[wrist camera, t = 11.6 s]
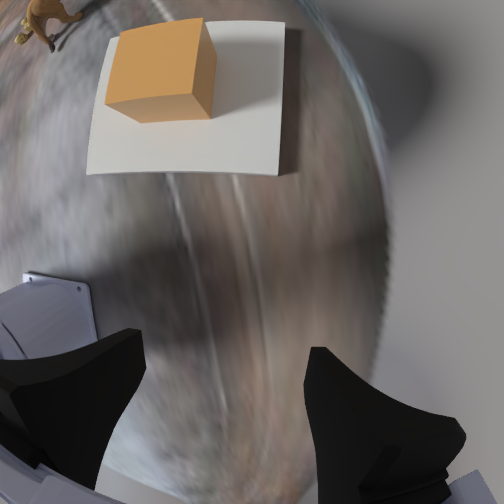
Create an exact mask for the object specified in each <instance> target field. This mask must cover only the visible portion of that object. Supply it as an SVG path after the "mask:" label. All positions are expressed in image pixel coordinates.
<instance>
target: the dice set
mask: <svg viewBox="0 0 504 504" xmlns="http://www.w3.org/2000/svg"><path fill="white" fill-rule="evenodd" d="M47 19H48V18H47ZM21 24H22V25H23V26H25V27H24V30H26V31H29V32H31V31H32V29H31V27H30V26H29V24H28V21H27V16H26V17H25V18H24V19H23V21H22V23H21ZM27 38H28V35H26V34H24V33H22V32H21V33H20V34H18V36H17V37H16V39H15V43H17V44H20V45H23V44H24V43H25V42H26V41H27Z"/></svg>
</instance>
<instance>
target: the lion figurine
mask: <svg viewBox="0 0 504 504" xmlns="http://www.w3.org/2000/svg"><path fill="white" fill-rule="evenodd" d="M59 1H60V0H31V2H30V3H29V5H28V8H27V11H26V15H27V21H28V24H29V26H30V27H31V29H32V30H33V31H34V32H35V33H36V34H37V35H38V38H39V39H40V40H41V41H43V42H44V43H45V44H48V45H49V48H50V50H51V53H53V52H54V50H55V45H54V43H53V42H52V41H53V40H54V38H55V35H54V34H51V35H50V36H49V37H47V35H46V21H47V18H57V19H59V20H60V22H61V23H69V22H76V21H78V20H79V19H80V18H81V17H82V16H83V13H82V12H78V13H76V14H75V15H74V16H69V15H68V14H67V13H66V11H65V9H64V6H63V4H62V3H60V2H59Z"/></svg>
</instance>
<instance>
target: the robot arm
mask: <svg viewBox="0 0 504 504" xmlns="http://www.w3.org/2000/svg"><path fill="white" fill-rule="evenodd" d="M23 282H24V283H23V284H21V285H18V286H16V287H14V288H12V289H10V290H8V291H6V292H3V293H1V294H0V497H2V498H3V499H4V500H5V501H6V502H7V503H9V504H125V503H123V502H120V501H117V500H115V499H112V498H110V497H107V496H105V495H102V494H100V493H97V492H95V491H94V490H95V485H96V481H97V476H98V473H99V469H100V466H101V462H102V459H103V456H104V453H105V450H106V448H107V445H108V442H109V440H110V437H111V435H112V432H113V430H114V428H115V426H116V424H117V422H118V420H119V418H120V416H121V415H122V413H123V412H124V410H125V408H126V407H127V405H128V403H129V402H130V400H131V398H132V397H133V395H134V393H135V392H136V390H137V388H138V387H139V385H140V383H141V380H142V378H143V375H144V373H145V370H146V362H145V355H144V348H143V341H142V333H141V330H137V329H131V328H128V329H125V330H122V331H119V332H117V333H115V334H112V335H110V336H108V337H105V338H103V339H101V340H97V335H96V329H95V324H94V318H93V312H92V305H91V298H90V290H89V287H88V285H87V284H85V283H81V282H75V281H69V280H63V279H58V278H52V277H47V276H42V275H37V274H32V273H24V274H23ZM79 287H80V288H81V290H80V289H79ZM303 385H304V398H305V406H306V410H307V415H308V419H309V424H310V428H311V432H312V437H313V441H314V446H315V452H316V463H317V478H318V504H497V502H496V501H495V499H494V497H493V495H492V493H491V491H490V490H489V488H488V486H487V484H486V483H485V481H484V479H483V477H482V476H481V474H480V472H479V471H478V470H475V471H473V472H471V473H469V474H467V475H465V476H463V477H461V478H459V479H457V480H455V481H453V482H452V483H451V484H449V485H447V483H446V481H445V479H447V478H448V476H449V474H448V472H447V470H446V468H447V467H448V466H449V464H450V463H451V462H452V461H453V460H454V458H455V457H456V456H457V454H458V453H459V452H460V450H461V449H462V448H463V446H464V443H465V441H466V433H465V432H464V430H463V429H462V427H461V426H460V424H459V423H458V422H457V420H456V419H455V418H452V417H447V416H442V415H437V414H433V413H429V412H426V411H422V410H419V409H416V408H414V407H411V406H408V405H406V404H404V403H401V402H399V401H397V400H395V399H393V398H391V397H389V396H387V395H385V394H384V393H382V392H380V391H379V390H377V389H375V388H374V387H372V386H371V385H369V384H368V383H367V382H365V381H364V380H363V379H361V378H360V377H359V376H357V375H356V374H355V373H354V372H353V371H351V370H350V369H349V368H348V367H347V366H346V365H345V364H343V363H342V362H341V361H340V360H339V359H338V358H337V357H336V356H335V355H334V354H333V353H332V352H331V351H329V350H328V349H327V348H326V347H311V350H310V355H309V360H308V365H307V370H306V375H305V380H304V384H303Z"/></svg>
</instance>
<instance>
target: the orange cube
mask: <svg viewBox="0 0 504 504" xmlns="http://www.w3.org/2000/svg"><path fill="white" fill-rule="evenodd" d="M216 63H217V54H216V51H215V48H214V45H213V43H212V40H211V37H210V34H209V32H208V29H207V26H206V24H205V21H204V18H195V19H186V20H178V21H172V22H165V23H160V24H154V25H149V26H144V27H140V28H135V29H131V30H127V31H123V32H121V34H120V37H119V41H118V44H117V48H116V52H115V55H114V59H113V64H112V68H111V72H110V77H109V81H108V86H107V92H106V97H105V103H104V105H106V106H108V107H110V108H112V109H114V110H116V111H118V112H120V113H122V114H124V115H126V116H128V117H130V118H132V119H133V120H135V121H137V122H139V123H141V124H142V123H152V122H164V121H180V120H209V119H211V113H212V102H213V91H214V82H215V72H216Z"/></svg>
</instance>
